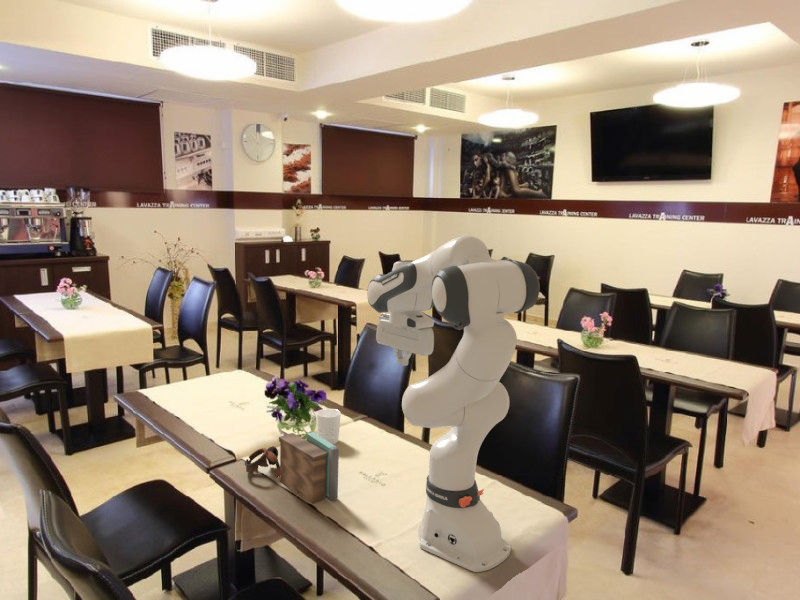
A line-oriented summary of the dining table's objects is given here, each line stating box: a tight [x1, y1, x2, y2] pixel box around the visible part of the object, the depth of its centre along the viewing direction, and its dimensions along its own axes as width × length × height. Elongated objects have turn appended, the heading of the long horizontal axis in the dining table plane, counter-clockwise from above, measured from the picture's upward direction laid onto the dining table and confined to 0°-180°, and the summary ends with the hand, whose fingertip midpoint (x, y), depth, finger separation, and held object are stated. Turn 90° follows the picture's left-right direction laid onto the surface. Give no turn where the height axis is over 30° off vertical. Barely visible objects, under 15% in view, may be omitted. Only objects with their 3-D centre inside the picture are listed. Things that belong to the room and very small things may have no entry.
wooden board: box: [278, 432, 328, 504], centre depth 152 cm, size 17×5×13 cm, turn 44°
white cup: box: [316, 408, 342, 445], centre depth 185 cm, size 8×8×10 cm
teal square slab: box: [306, 431, 340, 501], centre depth 152 cm, size 14×2×14 cm, turn 40°
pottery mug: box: [244, 446, 280, 478], centre depth 163 cm, size 12×10×8 cm
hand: (402, 364), depth 159 cm, fingers closed
